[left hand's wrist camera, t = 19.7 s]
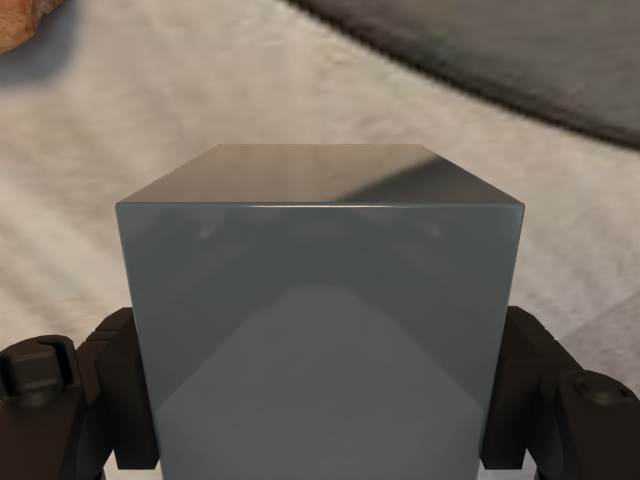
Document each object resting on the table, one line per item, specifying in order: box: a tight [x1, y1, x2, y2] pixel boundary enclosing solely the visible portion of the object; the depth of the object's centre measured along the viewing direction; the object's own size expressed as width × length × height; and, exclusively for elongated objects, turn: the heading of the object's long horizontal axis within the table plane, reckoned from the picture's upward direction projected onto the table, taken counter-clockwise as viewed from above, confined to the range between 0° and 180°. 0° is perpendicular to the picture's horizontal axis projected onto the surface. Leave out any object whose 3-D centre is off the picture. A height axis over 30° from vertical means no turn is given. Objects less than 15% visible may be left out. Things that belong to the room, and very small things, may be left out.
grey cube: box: [115, 144, 525, 480], centre depth 12 cm, size 7×8×8 cm
